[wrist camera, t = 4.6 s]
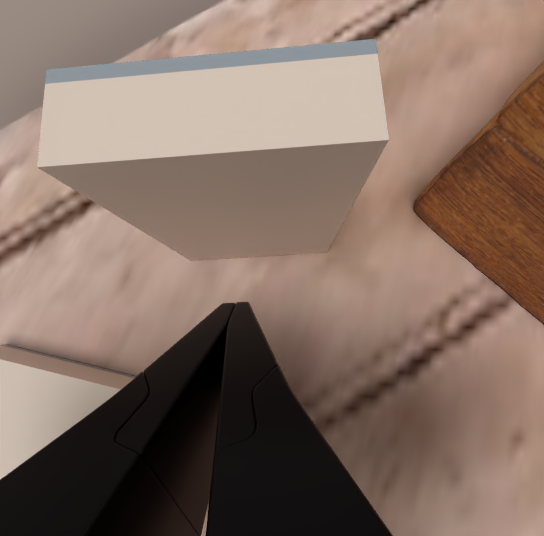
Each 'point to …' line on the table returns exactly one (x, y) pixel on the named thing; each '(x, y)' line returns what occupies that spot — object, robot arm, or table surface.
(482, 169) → the wooden box
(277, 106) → the white rectangular block
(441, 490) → the table surface
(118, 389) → the flat tile
